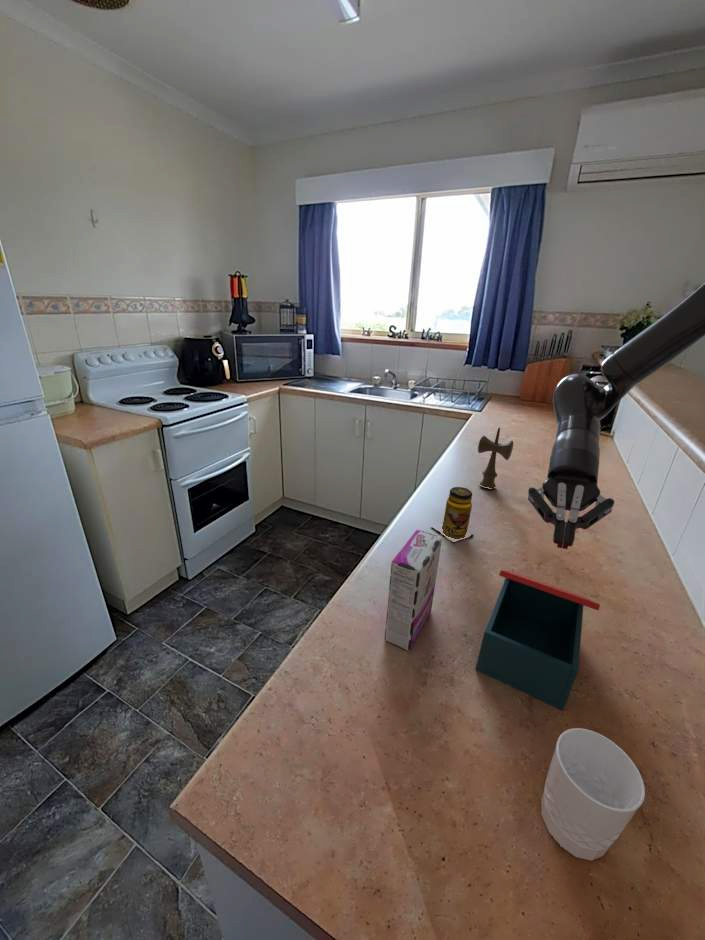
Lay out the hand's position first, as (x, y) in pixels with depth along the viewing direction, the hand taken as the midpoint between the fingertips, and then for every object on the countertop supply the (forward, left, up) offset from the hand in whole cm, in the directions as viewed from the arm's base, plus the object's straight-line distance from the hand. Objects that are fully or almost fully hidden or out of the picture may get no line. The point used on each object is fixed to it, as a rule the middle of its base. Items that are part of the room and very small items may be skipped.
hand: (562, 545), depth 61 cm
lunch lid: (+2, 0, -7) cm, 8 cm away
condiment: (-13, -33, -20) cm, 41 cm away
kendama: (-43, -48, -20) cm, 68 cm away
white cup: (+19, +19, -20) cm, 33 cm away
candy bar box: (+17, -13, -20) cm, 29 cm away
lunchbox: (+3, +1, -20) cm, 20 cm away
